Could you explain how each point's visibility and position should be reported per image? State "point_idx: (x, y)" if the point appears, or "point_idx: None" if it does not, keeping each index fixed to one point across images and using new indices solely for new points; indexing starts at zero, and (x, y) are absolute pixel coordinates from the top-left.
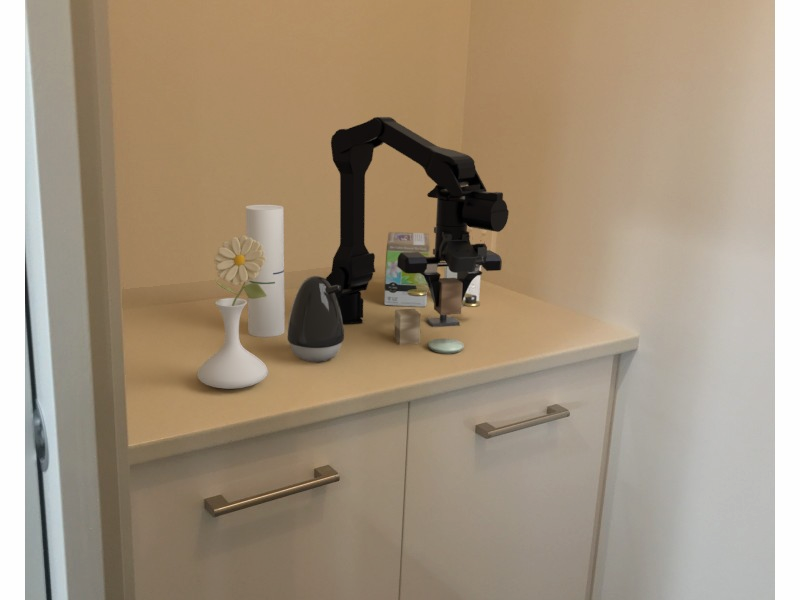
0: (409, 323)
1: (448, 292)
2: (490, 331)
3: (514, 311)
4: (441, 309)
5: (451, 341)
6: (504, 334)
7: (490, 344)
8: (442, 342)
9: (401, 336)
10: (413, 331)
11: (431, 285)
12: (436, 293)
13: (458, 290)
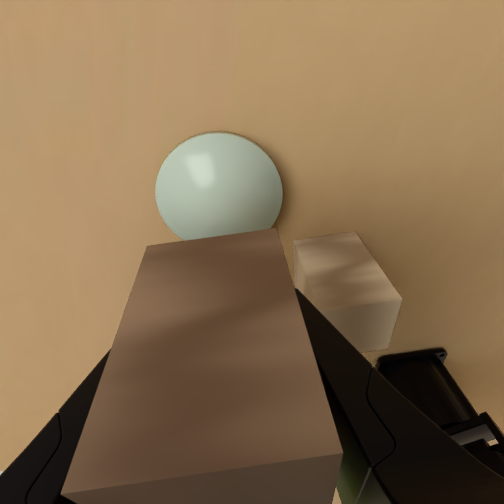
0: (351, 280)
1: (243, 356)
2: (68, 326)
3: (20, 424)
4: (278, 247)
5: (196, 223)
6: (20, 308)
7: (57, 230)
8: (230, 214)
9: (360, 248)
10: (325, 262)
11: (427, 423)
12: (336, 355)
13: (137, 387)
